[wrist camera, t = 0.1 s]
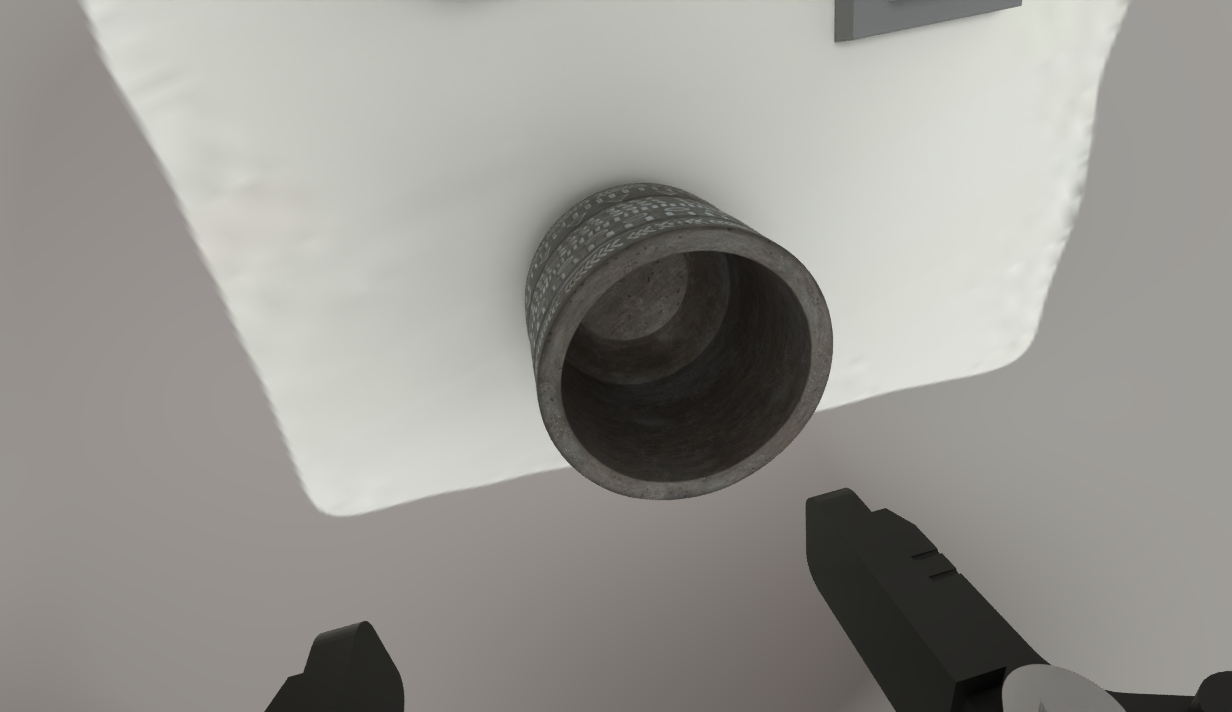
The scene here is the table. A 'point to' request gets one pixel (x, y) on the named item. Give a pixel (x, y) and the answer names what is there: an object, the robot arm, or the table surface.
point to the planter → (671, 343)
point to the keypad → (904, 14)
